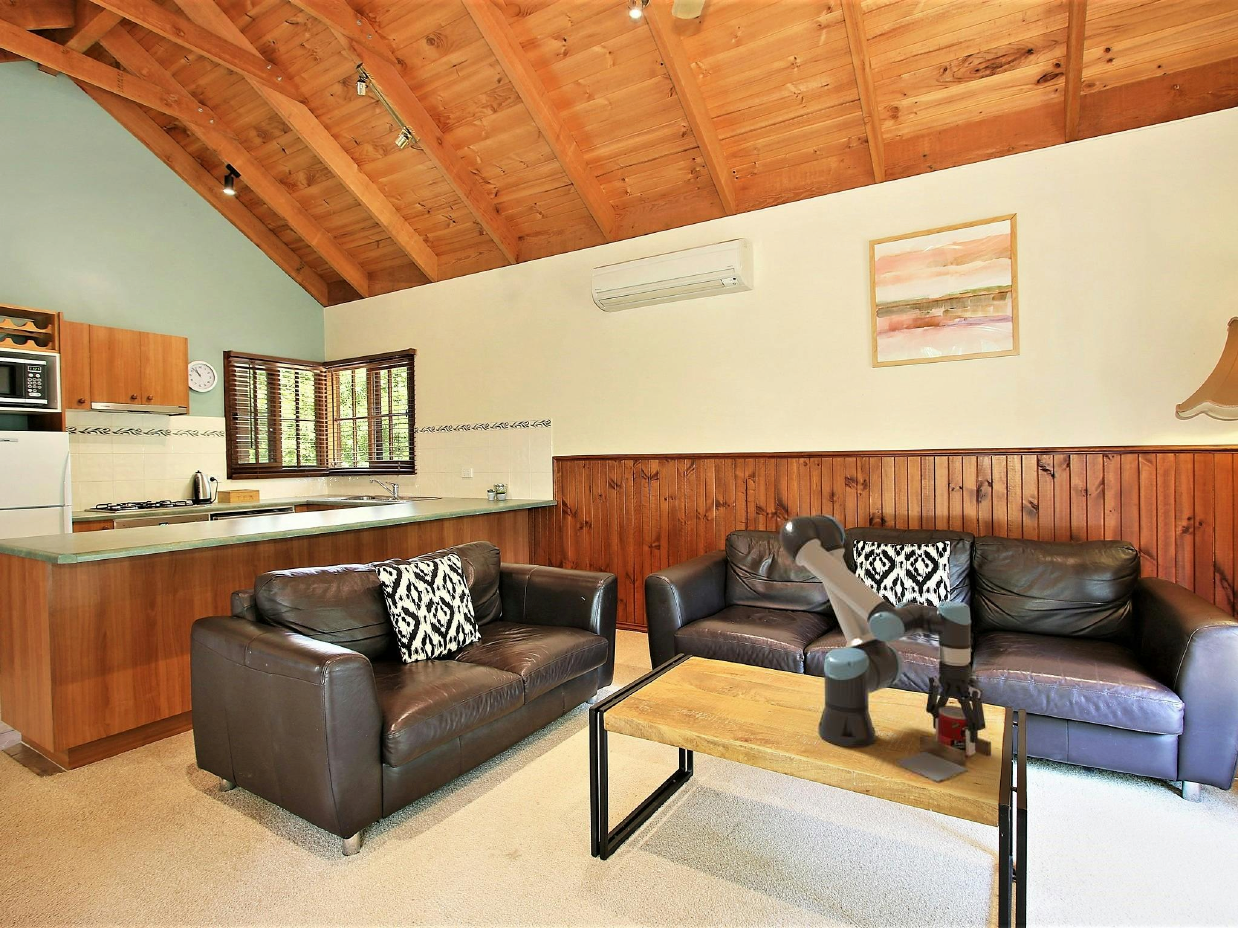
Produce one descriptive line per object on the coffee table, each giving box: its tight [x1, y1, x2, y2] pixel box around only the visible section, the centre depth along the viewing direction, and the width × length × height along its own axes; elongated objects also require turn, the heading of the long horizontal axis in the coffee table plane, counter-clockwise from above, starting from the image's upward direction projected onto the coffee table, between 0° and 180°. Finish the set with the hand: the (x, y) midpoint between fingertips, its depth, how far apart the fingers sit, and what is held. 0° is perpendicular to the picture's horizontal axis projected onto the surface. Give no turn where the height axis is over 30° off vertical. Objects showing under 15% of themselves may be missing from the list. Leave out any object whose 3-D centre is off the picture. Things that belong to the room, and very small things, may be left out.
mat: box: [894, 751, 969, 783], centre depth 170 cm, size 12×12×1 cm
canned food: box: [939, 705, 971, 759], centre depth 178 cm, size 8×8×11 cm
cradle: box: [919, 734, 992, 767], centre depth 178 cm, size 12×12×4 cm
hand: (955, 747), depth 178 cm, fingers closed on canned food, 8 cm apart
